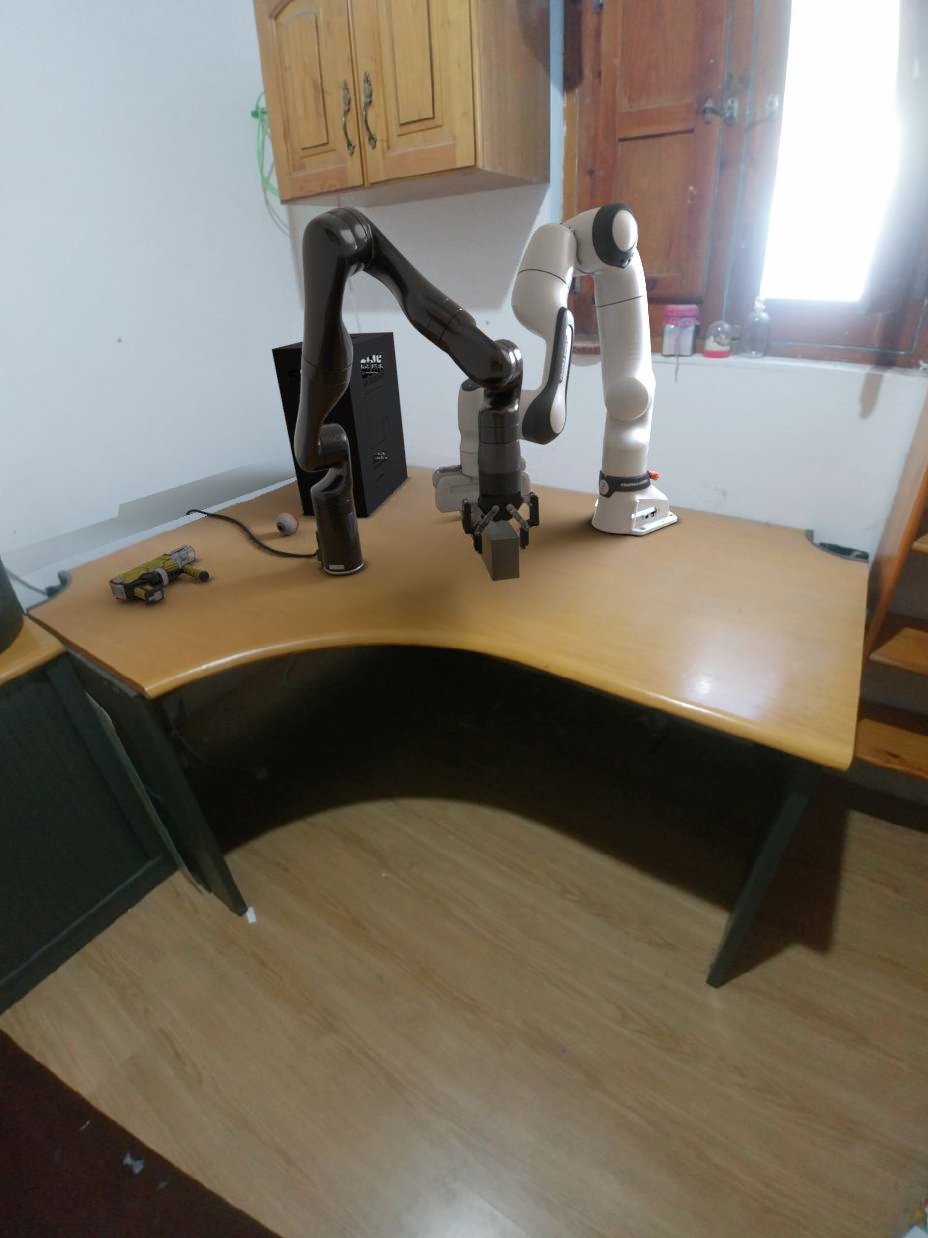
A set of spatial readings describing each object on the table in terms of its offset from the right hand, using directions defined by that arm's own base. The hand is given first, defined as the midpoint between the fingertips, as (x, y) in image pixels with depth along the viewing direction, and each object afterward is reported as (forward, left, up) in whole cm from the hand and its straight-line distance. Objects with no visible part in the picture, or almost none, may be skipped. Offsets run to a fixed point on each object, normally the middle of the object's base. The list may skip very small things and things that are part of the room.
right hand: (484, 526), depth 129 cm
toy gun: (+64, -35, -13) cm, 74 cm away
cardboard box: (+8, -74, -12) cm, 75 cm away
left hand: (+4, +16, +1) cm, 17 cm away
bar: (+2, +8, -3) cm, 9 cm away
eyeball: (+35, -52, -13) cm, 63 cm away
